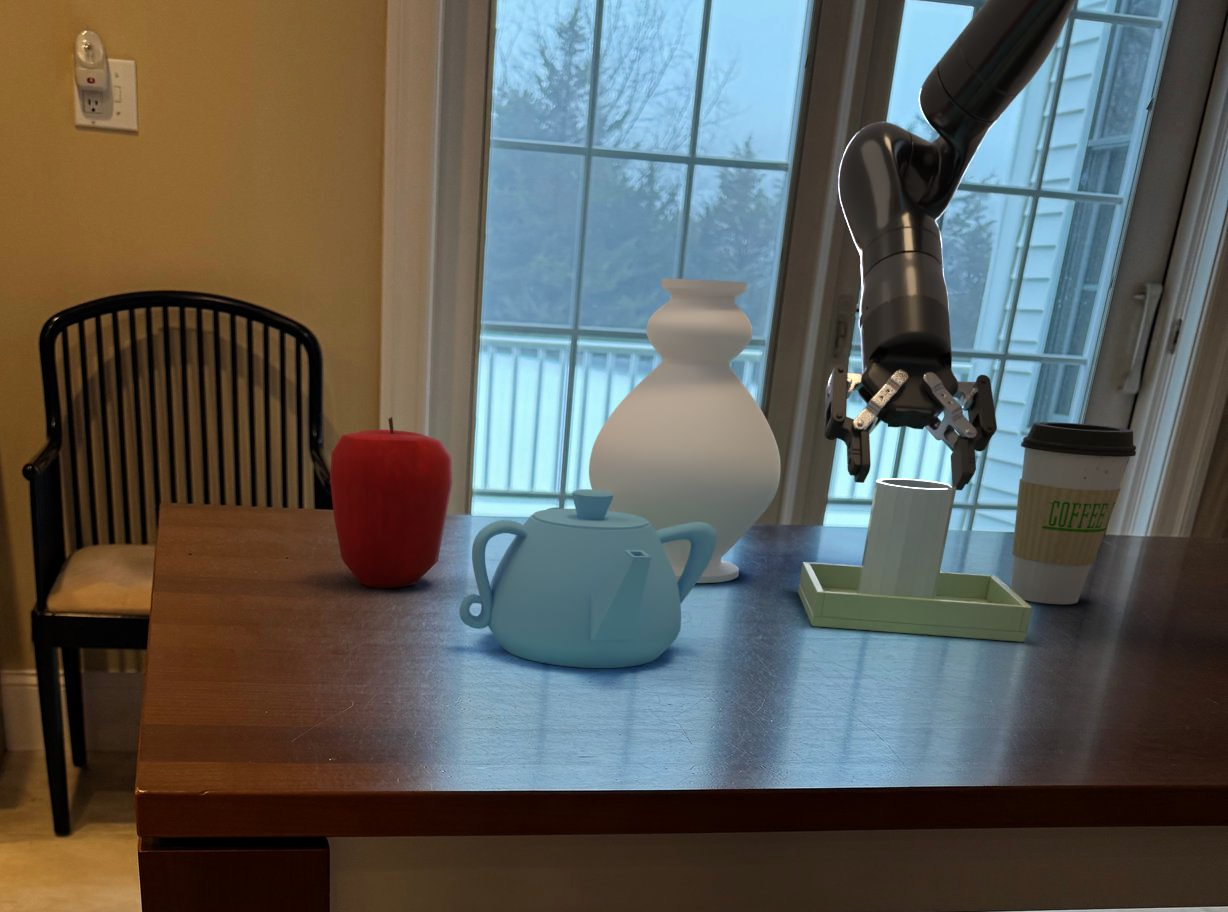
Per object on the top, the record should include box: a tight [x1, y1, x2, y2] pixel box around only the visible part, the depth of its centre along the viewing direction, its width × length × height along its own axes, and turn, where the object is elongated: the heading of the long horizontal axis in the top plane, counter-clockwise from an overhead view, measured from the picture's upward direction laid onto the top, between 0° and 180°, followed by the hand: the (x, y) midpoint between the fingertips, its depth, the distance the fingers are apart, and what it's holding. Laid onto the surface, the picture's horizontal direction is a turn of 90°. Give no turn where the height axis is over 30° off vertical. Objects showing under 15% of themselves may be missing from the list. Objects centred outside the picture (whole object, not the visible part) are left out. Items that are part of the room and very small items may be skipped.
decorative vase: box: [588, 277, 781, 584], centre depth 129 cm, size 18×18×25 cm
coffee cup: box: [1009, 421, 1137, 605], centre depth 129 cm, size 10×10×15 cm
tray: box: [797, 561, 1033, 643], centre depth 120 cm, size 17×14×3 cm
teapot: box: [459, 488, 717, 669], centre depth 102 cm, size 15×17×11 cm
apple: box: [329, 416, 453, 589], centre depth 120 cm, size 10×10×14 cm
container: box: [857, 478, 957, 599], centre depth 119 cm, size 6×6×10 cm
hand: (912, 480), depth 119 cm, fingers open, 8 cm apart
